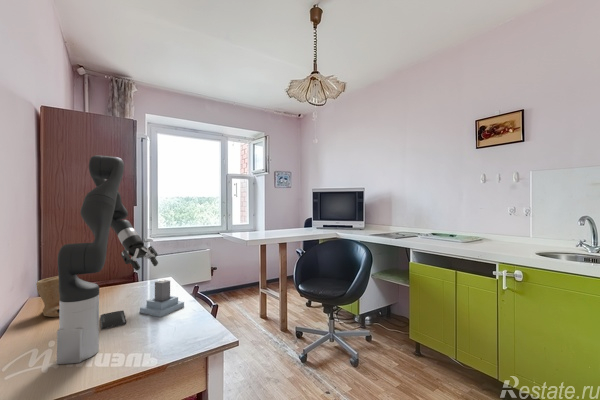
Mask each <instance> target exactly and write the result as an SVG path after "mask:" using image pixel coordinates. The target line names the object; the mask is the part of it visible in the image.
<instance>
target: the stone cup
mask: <svg viewBox="0 0 600 400" xmlns="http://www.w3.org/2000/svg"><path fill="white" fill-rule="evenodd" d="M36 290H37V291H36V292H37V293H38V295H39V297H40V298H41V300H42V302H43V304H44V307H43V308H42V314H43V316H45V317H50V318H51V317H53V318H55V317H56V318H57V317H59V308H60V295H59V277H58V275H56V276H55V275H54V276H52V277H47V278H43V279H40V280H38V281H37V282H36Z"/></svg>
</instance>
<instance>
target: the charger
mask: <svg viewBox="0 0 600 400" xmlns="http://www.w3.org/2000/svg"><path fill="white" fill-rule="evenodd" d="M170 296H171V280H169V279H160V280H157V281H154V298H155V301H158V302H164V301H166V300H169V299H170Z"/></svg>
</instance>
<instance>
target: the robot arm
mask: <svg viewBox="0 0 600 400" xmlns="http://www.w3.org/2000/svg"><path fill="white" fill-rule="evenodd" d="M88 171H89V175H90V177H91V179H92V181H93V183H94V185H95V186H96V187H94V188H93V189H91V190H89V191H88V193H86V195H85V196H84V200H83V202H82V205H81V208H80V216H81V218H82V220H83V222H84V223H85V224H86V226H87V227H88V228H89V230H90V231H91V232H92V235H93V236H94V240H93V241H92V242H82V243H81V242H80V243H79V242H77V243H76V242H75V243H67V244H64V245H62V246H61V248H60V249H59V251H58V254H57V274H58V275H57V276H58V277H59V295H60V308H59V316H58V317H59V318H58V323H59V324H58V329H57V331H56V365H64V364H65V365H66V364H80V363H82V362H83V361H85V360H87V359H89V358H91V357H94V356H95V355H96V354H97V353H99V351H100V350H99V349H100V348H99V347H100V285H98V284H97V283H94V282H91V281H86V280H84V279H82V278H79V275H88V274H90V275H91V274H96V273H97V274H98V273H99V272H101V271H102V270H103V268H104V267H105V262H106V260H107V259H106V258H107V250H108V245H109V244H108V243H109V235H110V230H111V229H112V230H114V233H115V234H116V235H117V237H118V240H119V242H120V243H121V245H122V247H123V248H124V249H123V250H122V252H121V253H120V256H121V258H122V260H123V261H124V264H126V265H128V264H130V265H132V268H133V269H134V270H135V271H139V270H140V269H141V266H140V264H139V263H138V261H137V259H140V258H141V259H143V258H144V259H148V260H150V262H151V264H152V265H153V267H156V266H158V264H159V262H158V260H157V256H158V255H159V254H158V253H157V251H156V250H155V248H154V247H153V245H149V246H148V247H147V246H145V242H144V241H143V239H142V237H141V236H140V234H139V233H138V232H137V230H136V229H135V228H134V227H133V225H132V223H131V222H130V221H129V220H127V219H126V218H127V217H128V216H129V212H128V210H127V208H126V207H125V205H123V202H122V196H121V193H120V191H119V188H120V184H121V182H122V180H123V175H124V171H125V163H124V160H123V159H122V158H120V157H117V156H109V155H93V156H91V157H90V159H89V162H88ZM110 228H111V229H110Z"/></svg>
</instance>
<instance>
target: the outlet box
mask: <svg viewBox="0 0 600 400" xmlns="http://www.w3.org/2000/svg"><path fill="white" fill-rule="evenodd" d="M184 307H185V301H179V297H178V296H174V295H170V299H169V300H166V301H164V302H158V301H155V297H153V298H151V299H148V300H146V304H145V305H143V306H140V307H139V313H140V314H141V313H142V314H144V315H145V314H146V315H150V316H154V317H158V318H161V317H163V316H166V315H168V314H170V313H173V312H175V311H177V310H180V309H182V308H184Z"/></svg>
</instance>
